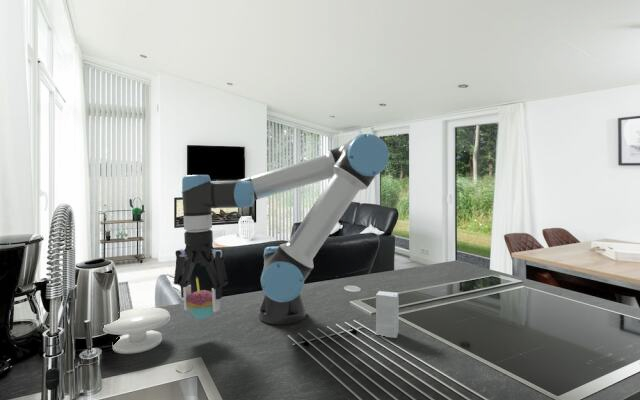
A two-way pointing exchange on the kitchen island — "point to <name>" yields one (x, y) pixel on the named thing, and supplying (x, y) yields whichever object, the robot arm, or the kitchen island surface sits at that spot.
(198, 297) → the cupcake
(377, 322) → the skincare box
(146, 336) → the cake stand
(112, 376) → the kitchen island surface
